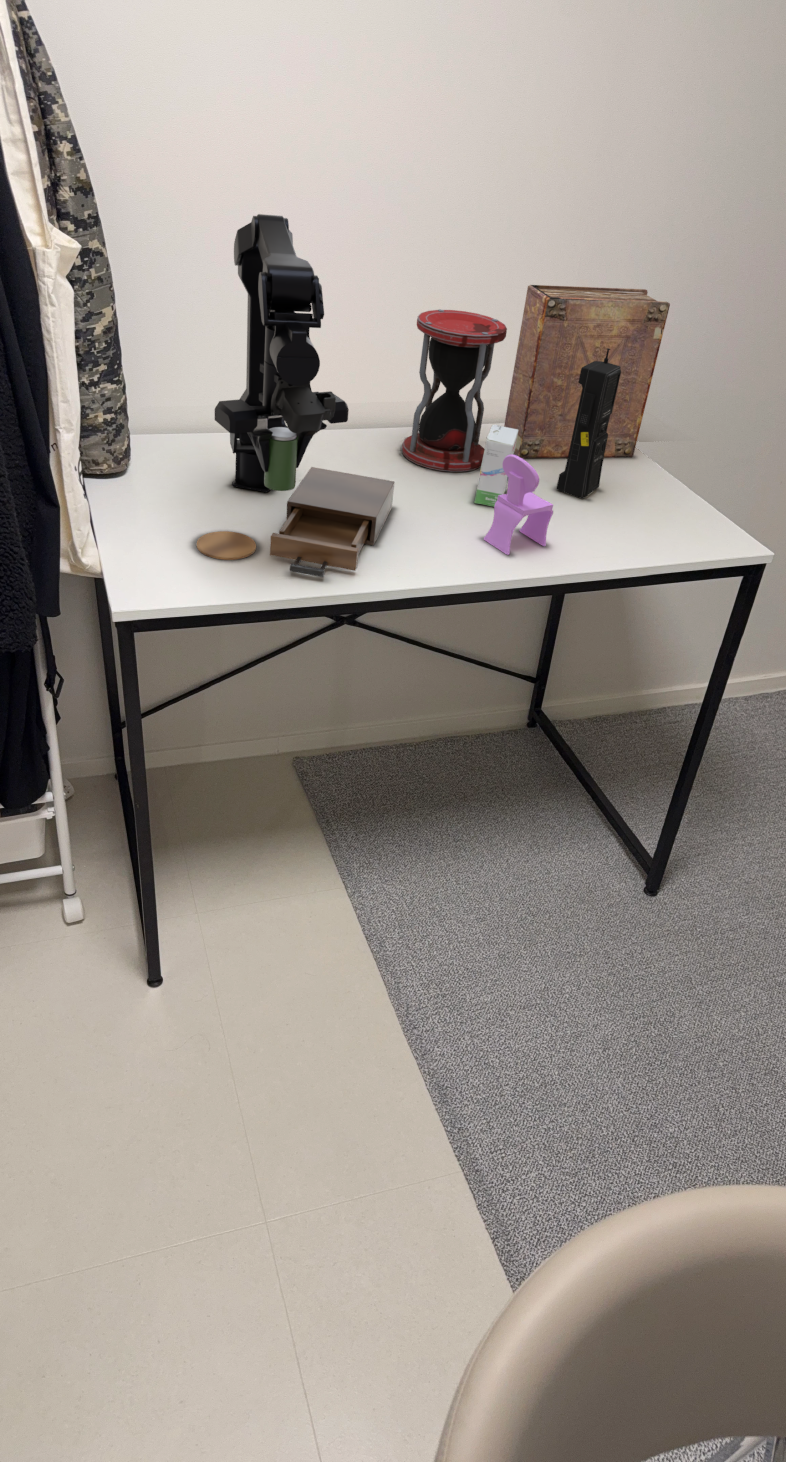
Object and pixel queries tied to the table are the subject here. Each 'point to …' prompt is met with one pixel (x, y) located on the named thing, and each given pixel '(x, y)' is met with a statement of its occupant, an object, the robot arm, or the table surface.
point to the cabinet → (345, 497)
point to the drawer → (320, 540)
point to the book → (581, 364)
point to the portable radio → (590, 428)
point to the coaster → (226, 545)
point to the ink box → (495, 464)
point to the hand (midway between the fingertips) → (280, 469)
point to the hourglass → (452, 389)
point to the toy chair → (519, 506)
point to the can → (282, 460)
